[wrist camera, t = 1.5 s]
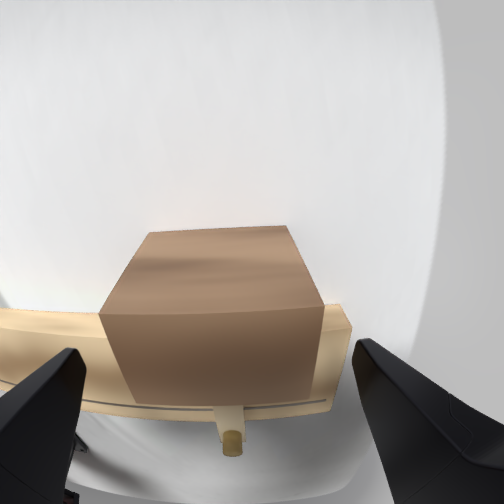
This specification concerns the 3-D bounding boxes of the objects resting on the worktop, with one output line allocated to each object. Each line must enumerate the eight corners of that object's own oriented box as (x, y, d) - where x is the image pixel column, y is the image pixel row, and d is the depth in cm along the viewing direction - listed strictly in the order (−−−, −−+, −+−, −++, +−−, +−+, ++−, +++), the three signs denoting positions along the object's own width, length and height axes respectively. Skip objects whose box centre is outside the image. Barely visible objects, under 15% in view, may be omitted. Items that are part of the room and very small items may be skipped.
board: (323, 388, 18) (330, 411, 16) (4, 371, 16) (-6, 387, 15) (339, 303, 15) (352, 328, 13) (-33, 304, 13) (-47, 319, 12)
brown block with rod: (278, 389, 17) (292, 470, 12) (185, 393, 17) (177, 474, 12) (286, 225, 13) (324, 306, 7) (149, 232, 12) (98, 313, 7)
